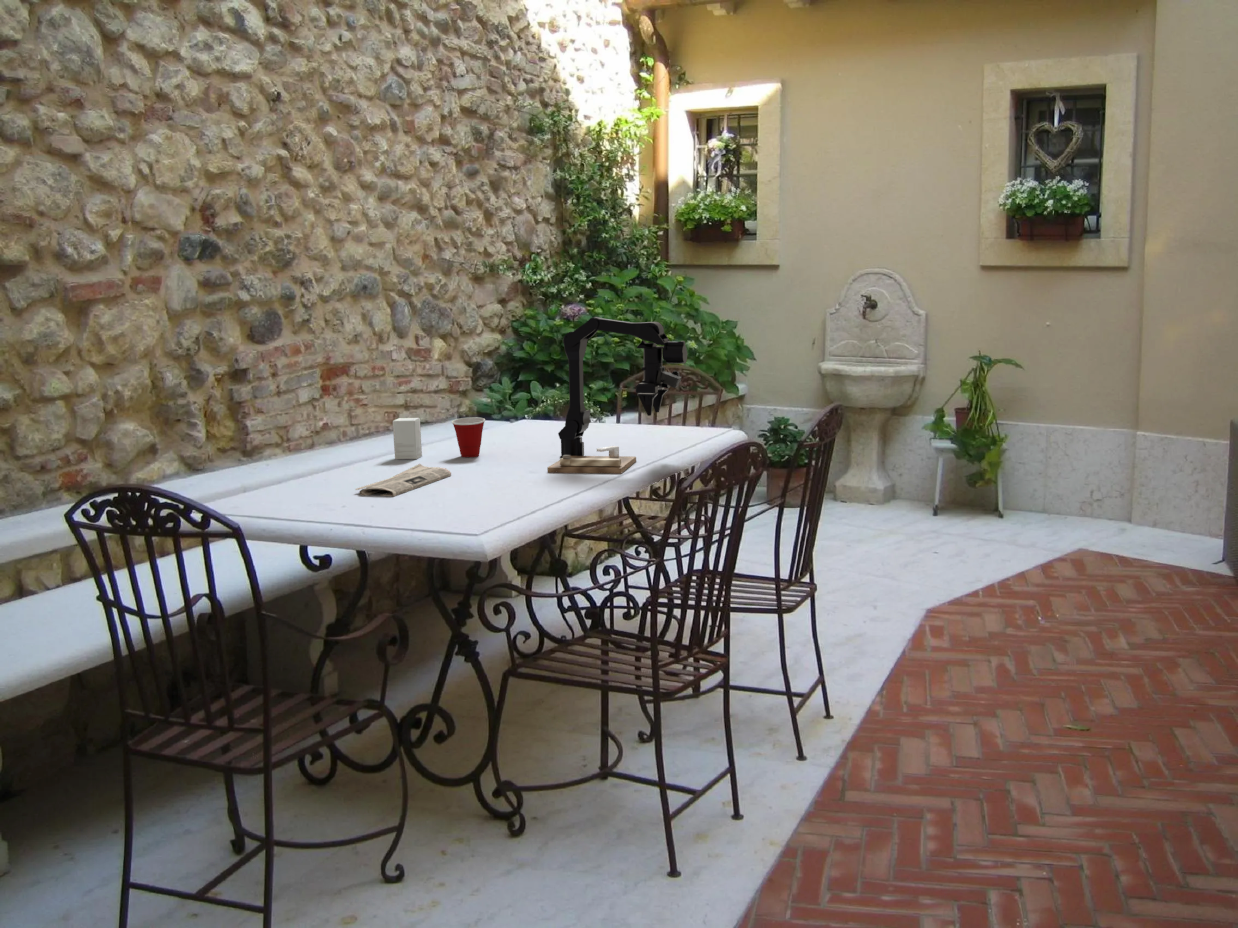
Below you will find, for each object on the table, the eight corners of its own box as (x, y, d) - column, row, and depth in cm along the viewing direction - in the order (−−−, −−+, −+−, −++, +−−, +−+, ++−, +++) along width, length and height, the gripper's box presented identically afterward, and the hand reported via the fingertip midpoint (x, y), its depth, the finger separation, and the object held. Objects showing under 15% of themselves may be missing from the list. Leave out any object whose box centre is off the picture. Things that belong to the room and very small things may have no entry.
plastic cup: (447, 458, 377) (445, 421, 375) (461, 453, 387) (459, 417, 385) (478, 459, 374) (477, 421, 372) (491, 454, 384) (490, 417, 382)
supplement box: (422, 456, 383) (420, 417, 381) (416, 459, 375) (414, 420, 373) (400, 456, 383) (398, 417, 381) (394, 459, 376) (392, 420, 374)
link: (558, 465, 345) (558, 456, 345) (562, 463, 349) (561, 454, 349) (618, 466, 342) (618, 457, 341) (621, 464, 346) (621, 454, 345)
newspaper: (393, 498, 311) (393, 485, 310) (352, 496, 315) (351, 483, 314) (453, 476, 344) (453, 464, 343) (415, 475, 348) (414, 463, 347)
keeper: (601, 460, 356) (601, 449, 355) (596, 459, 357) (596, 448, 357) (619, 457, 361) (618, 446, 360) (613, 456, 363) (613, 445, 362)
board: (547, 472, 345) (547, 467, 345) (566, 460, 367) (566, 455, 367) (621, 473, 340) (621, 468, 340) (636, 461, 363) (636, 456, 362)
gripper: (670, 365, 349) (671, 418, 352) (685, 361, 367) (686, 411, 369) (634, 365, 353) (635, 417, 355) (651, 361, 370) (651, 410, 373)
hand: (653, 414), depth 363 cm, fingers open, 9 cm apart
